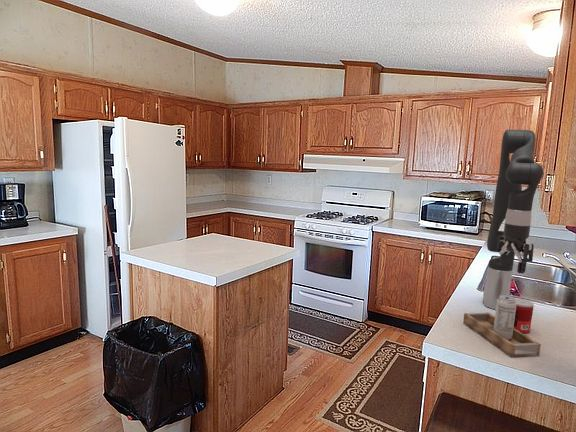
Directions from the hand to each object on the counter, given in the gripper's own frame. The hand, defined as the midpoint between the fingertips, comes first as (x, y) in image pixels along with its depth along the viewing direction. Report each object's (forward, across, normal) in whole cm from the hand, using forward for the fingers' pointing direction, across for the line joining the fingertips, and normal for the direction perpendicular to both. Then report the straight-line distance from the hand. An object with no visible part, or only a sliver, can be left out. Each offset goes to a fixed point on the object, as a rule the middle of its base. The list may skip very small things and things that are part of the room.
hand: (511, 269), depth 136 cm
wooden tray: (+26, +2, 0) cm, 26 cm away
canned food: (+26, +8, -13) cm, 30 cm away
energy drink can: (+25, 0, 0) cm, 25 cm away
